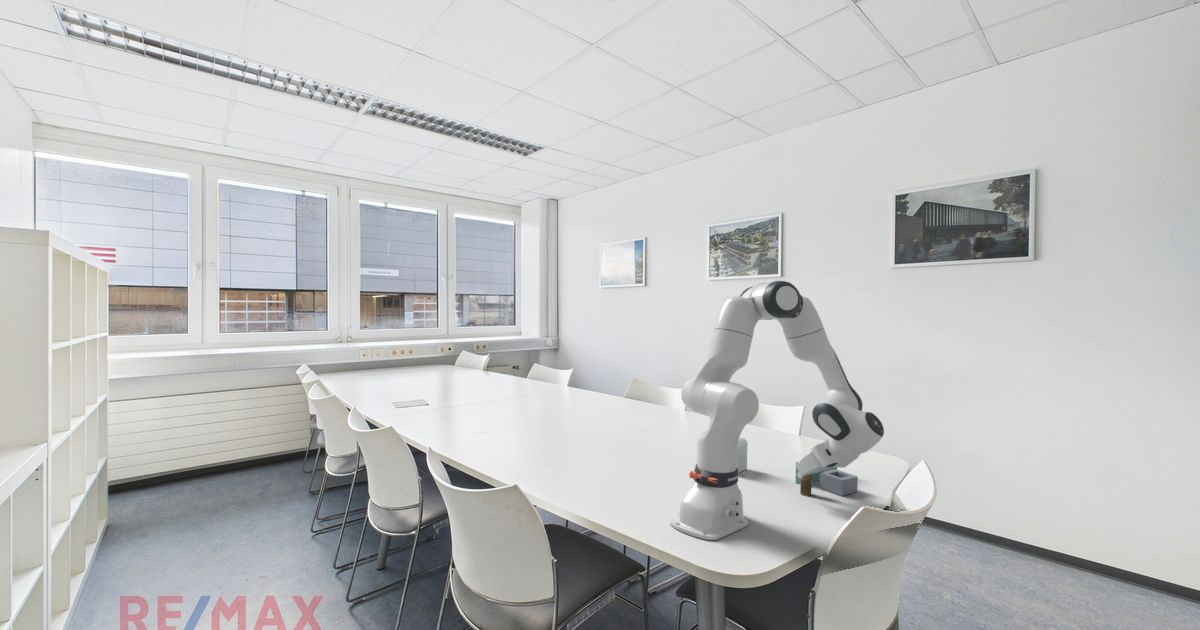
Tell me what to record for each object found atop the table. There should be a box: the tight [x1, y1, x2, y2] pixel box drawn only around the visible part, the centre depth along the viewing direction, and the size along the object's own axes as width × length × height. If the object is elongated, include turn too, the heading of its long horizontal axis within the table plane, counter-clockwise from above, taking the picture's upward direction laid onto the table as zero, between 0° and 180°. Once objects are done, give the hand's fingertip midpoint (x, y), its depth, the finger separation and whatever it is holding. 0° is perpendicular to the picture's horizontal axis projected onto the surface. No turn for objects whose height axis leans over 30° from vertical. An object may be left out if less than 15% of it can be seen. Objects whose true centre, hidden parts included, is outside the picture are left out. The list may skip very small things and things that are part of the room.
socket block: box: [819, 469, 859, 497], centre depth 156 cm, size 8×8×5 cm
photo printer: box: [737, 436, 748, 473], centre depth 173 cm, size 10×4×12 cm, turn 134°
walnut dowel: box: [799, 474, 812, 497], centre depth 152 cm, size 3×3×10 cm
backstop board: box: [795, 461, 838, 485], centre depth 166 cm, size 2×20×7 cm, turn 119°
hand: (809, 473), depth 151 cm, fingers open, 8 cm apart
